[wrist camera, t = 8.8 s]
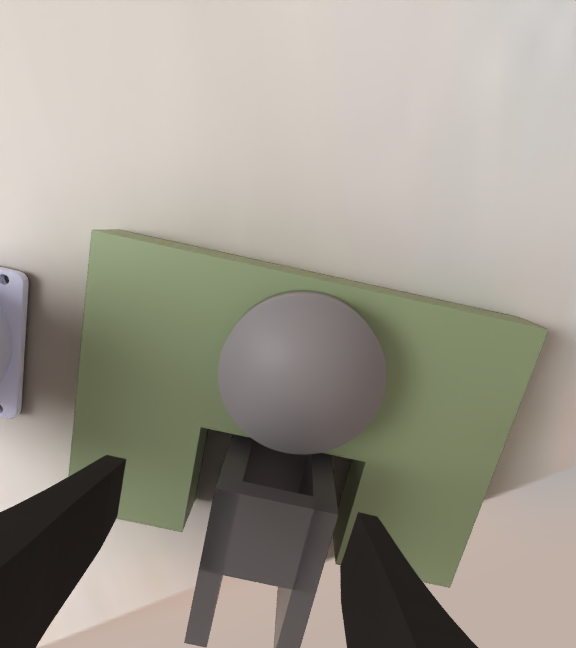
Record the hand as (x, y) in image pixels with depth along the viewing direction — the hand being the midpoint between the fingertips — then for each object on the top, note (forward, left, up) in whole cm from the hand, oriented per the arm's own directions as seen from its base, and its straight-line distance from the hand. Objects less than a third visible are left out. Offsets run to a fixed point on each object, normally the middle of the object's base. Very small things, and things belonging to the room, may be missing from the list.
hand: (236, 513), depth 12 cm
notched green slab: (+1, 0, -9) cm, 10 cm away
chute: (+1, -6, -10) cm, 11 cm away
